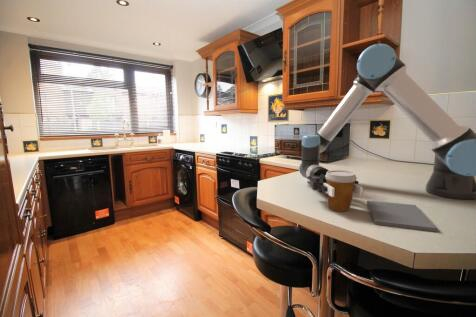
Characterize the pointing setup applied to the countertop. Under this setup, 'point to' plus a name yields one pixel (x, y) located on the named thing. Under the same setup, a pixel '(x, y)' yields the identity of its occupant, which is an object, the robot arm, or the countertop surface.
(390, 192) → the countertop surface
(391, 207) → the drip mat
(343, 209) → the disposable coffee cup
